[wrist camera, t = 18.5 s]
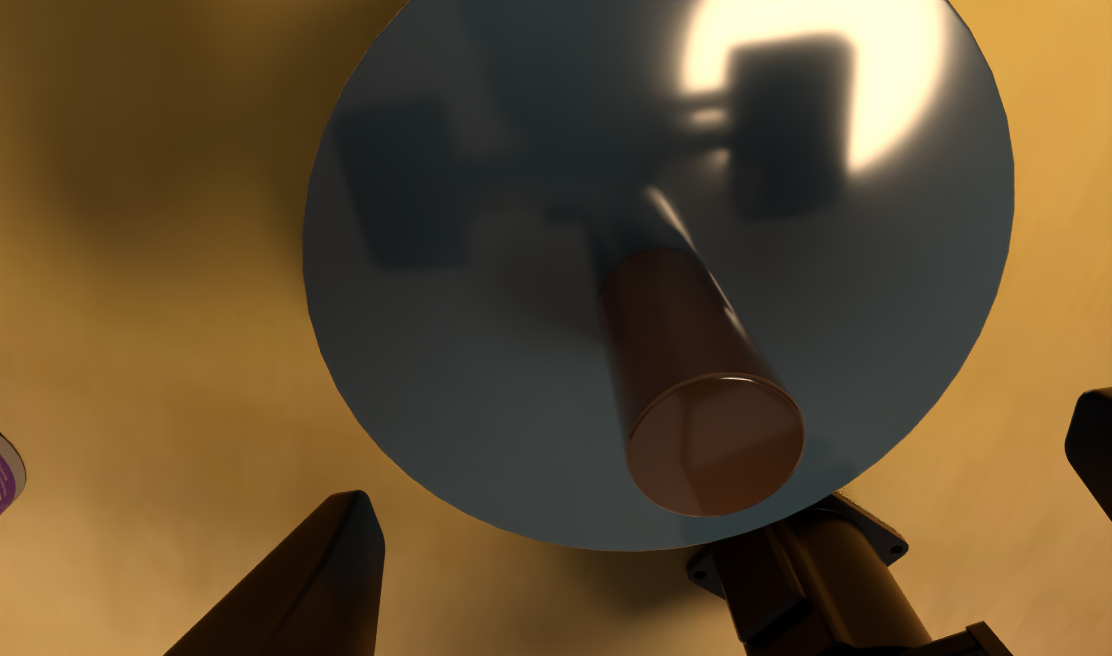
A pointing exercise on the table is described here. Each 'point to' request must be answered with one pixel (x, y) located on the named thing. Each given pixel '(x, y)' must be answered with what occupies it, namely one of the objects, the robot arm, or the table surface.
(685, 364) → the lid
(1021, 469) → the table surface
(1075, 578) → the table surface
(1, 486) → the container
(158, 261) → the table surface
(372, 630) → the robot arm
